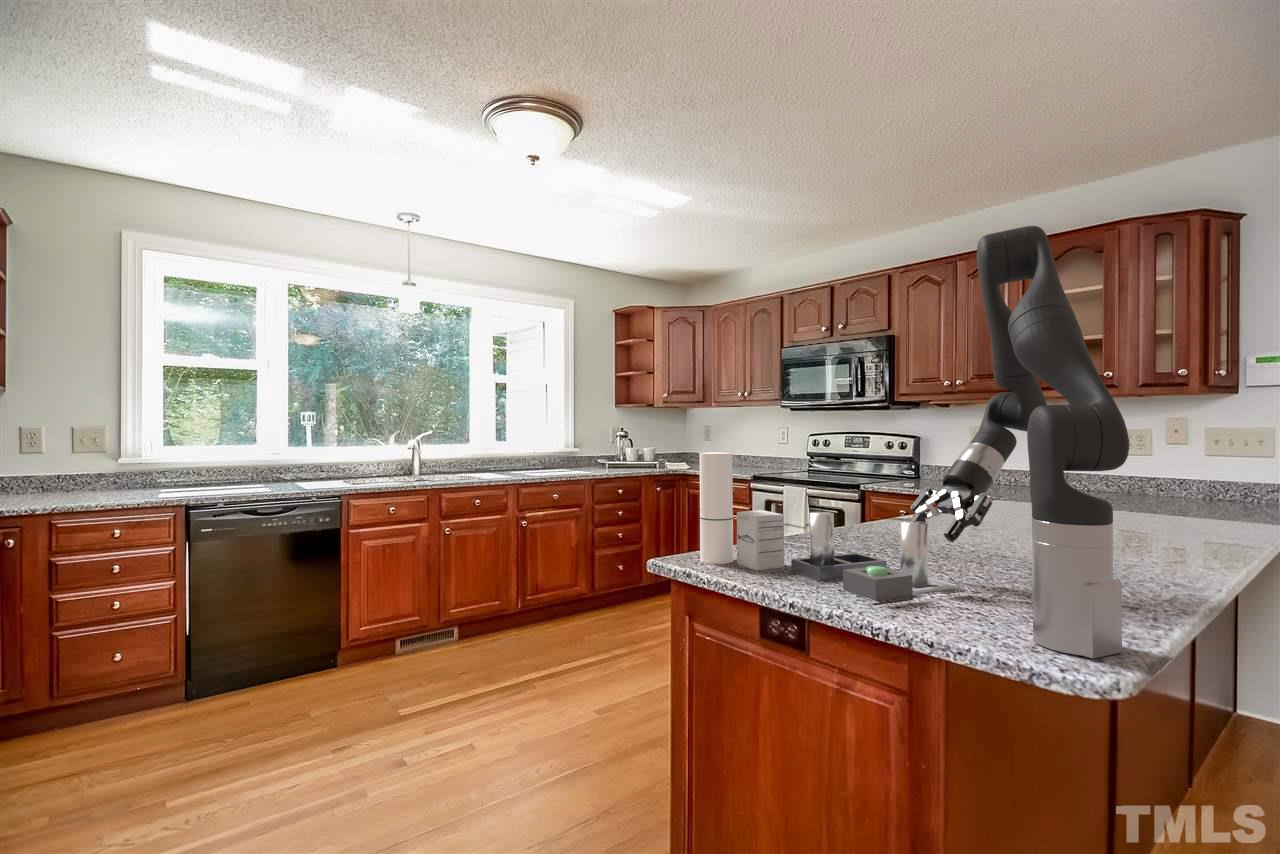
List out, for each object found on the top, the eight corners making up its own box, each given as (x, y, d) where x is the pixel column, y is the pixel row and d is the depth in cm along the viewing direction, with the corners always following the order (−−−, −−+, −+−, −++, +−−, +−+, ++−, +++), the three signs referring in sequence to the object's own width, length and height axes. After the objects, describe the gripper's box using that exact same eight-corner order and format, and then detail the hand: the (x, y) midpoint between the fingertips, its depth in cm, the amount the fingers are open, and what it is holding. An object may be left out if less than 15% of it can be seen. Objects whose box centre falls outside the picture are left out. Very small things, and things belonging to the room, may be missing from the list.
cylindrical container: (732, 563, 140) (731, 452, 140) (734, 571, 133) (733, 453, 133) (700, 563, 141) (699, 452, 141) (700, 570, 134) (699, 453, 134)
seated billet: (839, 575, 122) (838, 514, 122) (819, 578, 120) (819, 515, 120) (824, 570, 126) (823, 511, 126) (805, 573, 124) (804, 512, 124)
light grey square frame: (957, 596, 112) (957, 585, 112) (914, 602, 108) (914, 590, 108) (914, 583, 121) (914, 573, 121) (873, 588, 118) (873, 578, 118)
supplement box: (735, 570, 134) (735, 511, 134) (764, 567, 137) (763, 509, 137) (756, 578, 127) (755, 515, 127) (785, 574, 130) (785, 513, 130)
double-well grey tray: (886, 581, 123) (886, 561, 123) (820, 589, 117) (819, 568, 117) (855, 571, 132) (855, 552, 132) (791, 578, 126) (791, 559, 126)
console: (912, 604, 107) (912, 575, 107) (875, 609, 104) (875, 579, 104) (878, 593, 114) (878, 566, 114) (843, 598, 111) (843, 569, 111)
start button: (891, 586, 108) (891, 569, 108) (876, 588, 107) (876, 570, 107) (877, 582, 111) (877, 565, 111) (862, 584, 110) (862, 567, 110)
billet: (933, 589, 114) (933, 523, 114) (914, 592, 112) (913, 525, 112) (914, 583, 118) (913, 520, 118) (895, 586, 116) (894, 521, 116)
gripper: (933, 456, 126) (889, 516, 122) (997, 459, 113) (950, 527, 109) (953, 482, 128) (910, 542, 124) (1018, 488, 115) (972, 555, 111)
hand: (929, 535), depth 116 cm, fingers open, 8 cm apart
